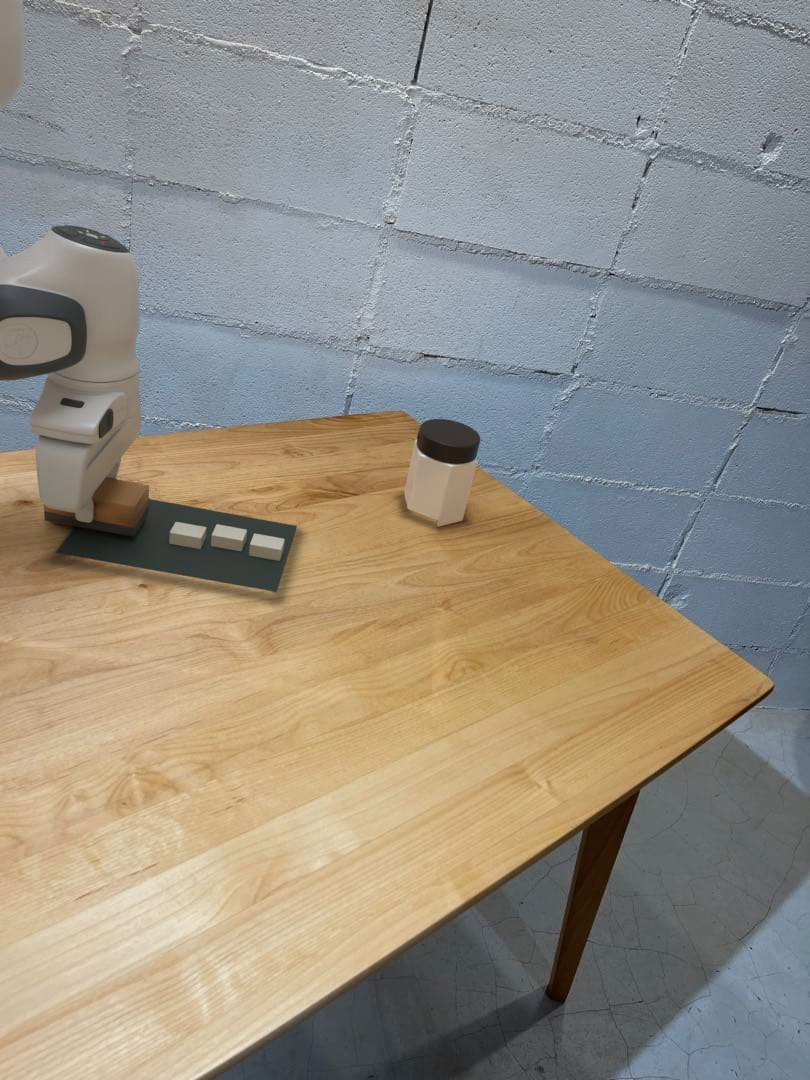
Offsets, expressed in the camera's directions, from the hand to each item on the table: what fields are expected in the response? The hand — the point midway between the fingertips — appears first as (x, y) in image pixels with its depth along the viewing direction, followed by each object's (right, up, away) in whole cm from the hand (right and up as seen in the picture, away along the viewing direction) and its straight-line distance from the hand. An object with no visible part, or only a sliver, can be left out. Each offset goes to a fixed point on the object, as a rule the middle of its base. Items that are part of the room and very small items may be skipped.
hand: (96, 504), depth 92 cm
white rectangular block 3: (+19, -5, +2) cm, 20 cm away
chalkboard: (+9, -5, +3) cm, 11 cm away
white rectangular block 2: (+14, -4, +3) cm, 15 cm away
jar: (+39, 0, +20) cm, 44 cm away
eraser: (0, -1, +1) cm, 2 cm away
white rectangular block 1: (+10, -4, +2) cm, 11 cm away
